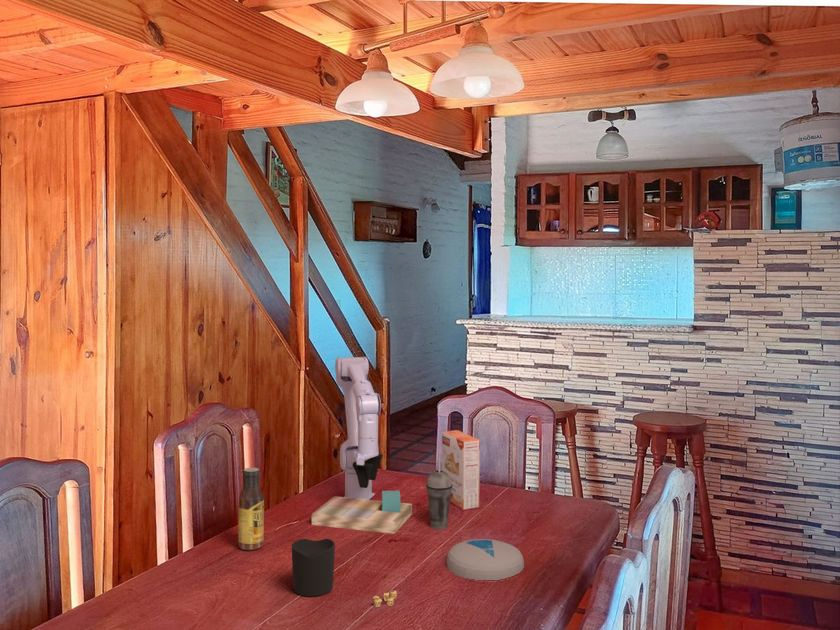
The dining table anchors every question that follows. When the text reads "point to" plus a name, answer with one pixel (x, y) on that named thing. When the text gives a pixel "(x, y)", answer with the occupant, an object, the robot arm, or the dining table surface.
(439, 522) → the beverage cup
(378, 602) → the popcorn pieces
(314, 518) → the puzzle board
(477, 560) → the grey thick round disc
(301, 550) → the pen holder
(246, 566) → the dining table surface
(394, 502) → the teal block
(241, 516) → the sauce bottle
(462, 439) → the cracker box
